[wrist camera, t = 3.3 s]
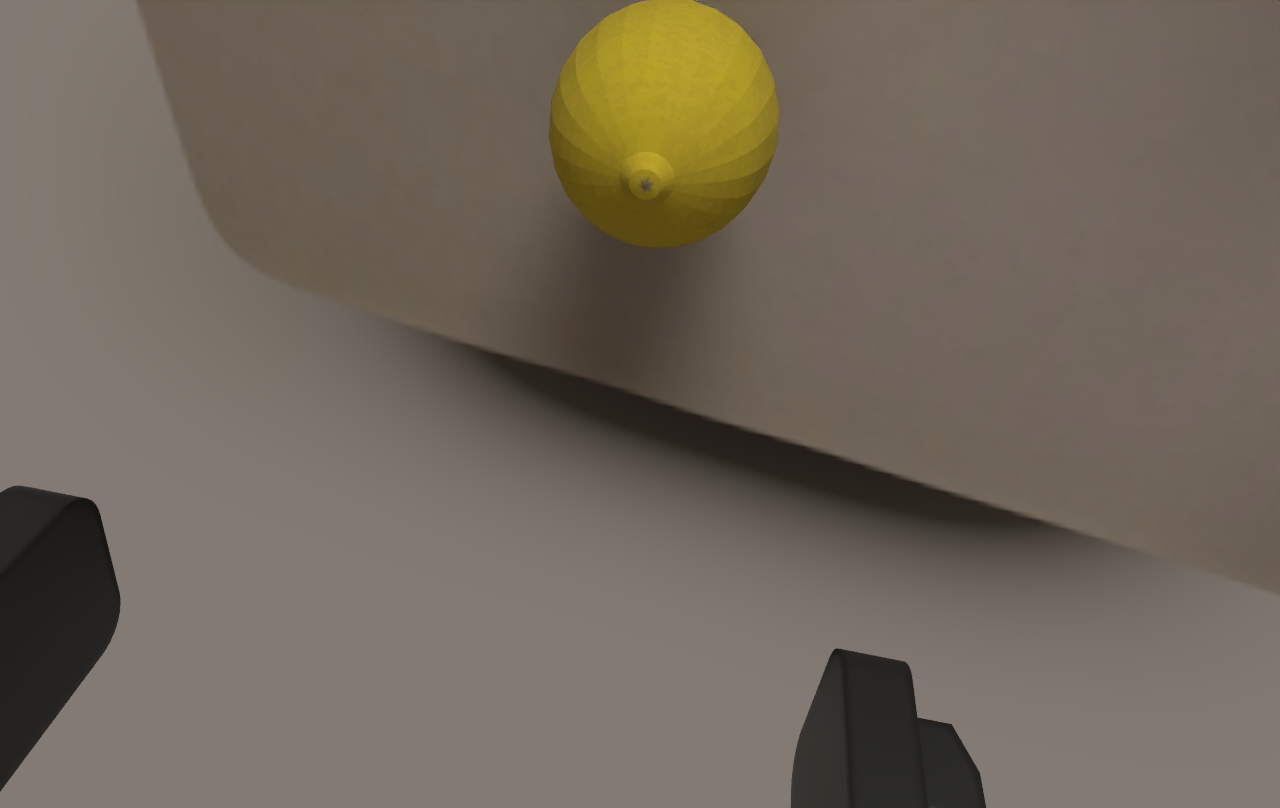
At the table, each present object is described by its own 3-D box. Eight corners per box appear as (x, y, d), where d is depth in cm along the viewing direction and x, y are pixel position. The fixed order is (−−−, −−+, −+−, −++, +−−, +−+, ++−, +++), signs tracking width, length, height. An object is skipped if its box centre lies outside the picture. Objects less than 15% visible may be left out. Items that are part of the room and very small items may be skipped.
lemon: (752, 188, 29) (741, 324, 22) (568, 147, 29) (503, 271, 22) (805, -7, 25) (810, 85, 19) (598, -54, 25) (531, 22, 19)
